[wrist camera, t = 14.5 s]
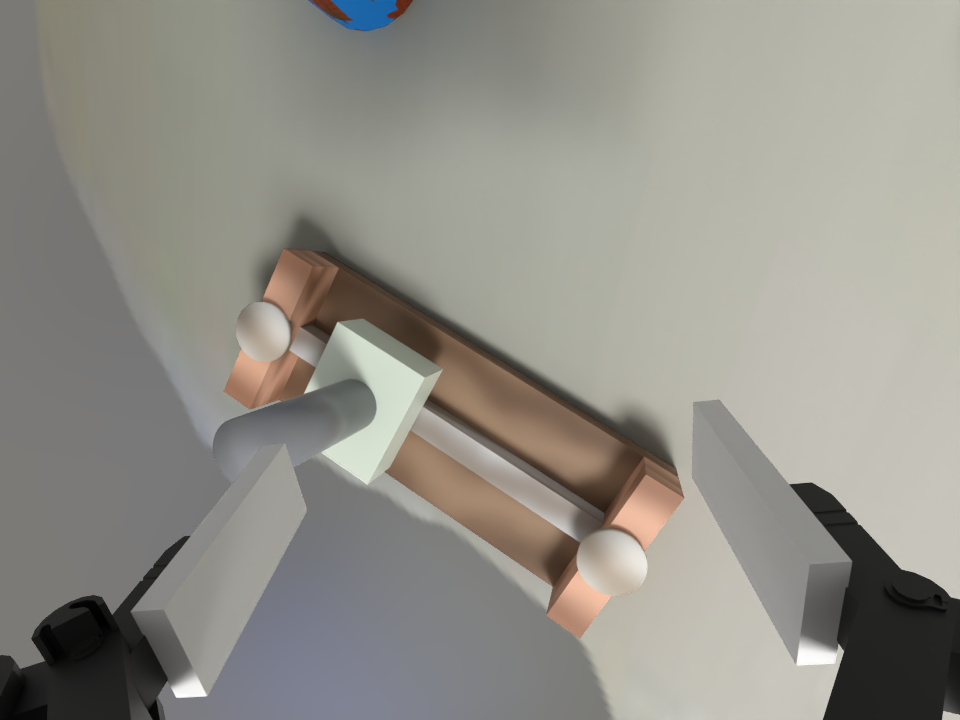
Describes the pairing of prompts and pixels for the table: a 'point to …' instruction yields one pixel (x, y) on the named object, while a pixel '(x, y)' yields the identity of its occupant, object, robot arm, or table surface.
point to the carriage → (340, 407)
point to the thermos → (362, 12)
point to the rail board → (496, 419)
